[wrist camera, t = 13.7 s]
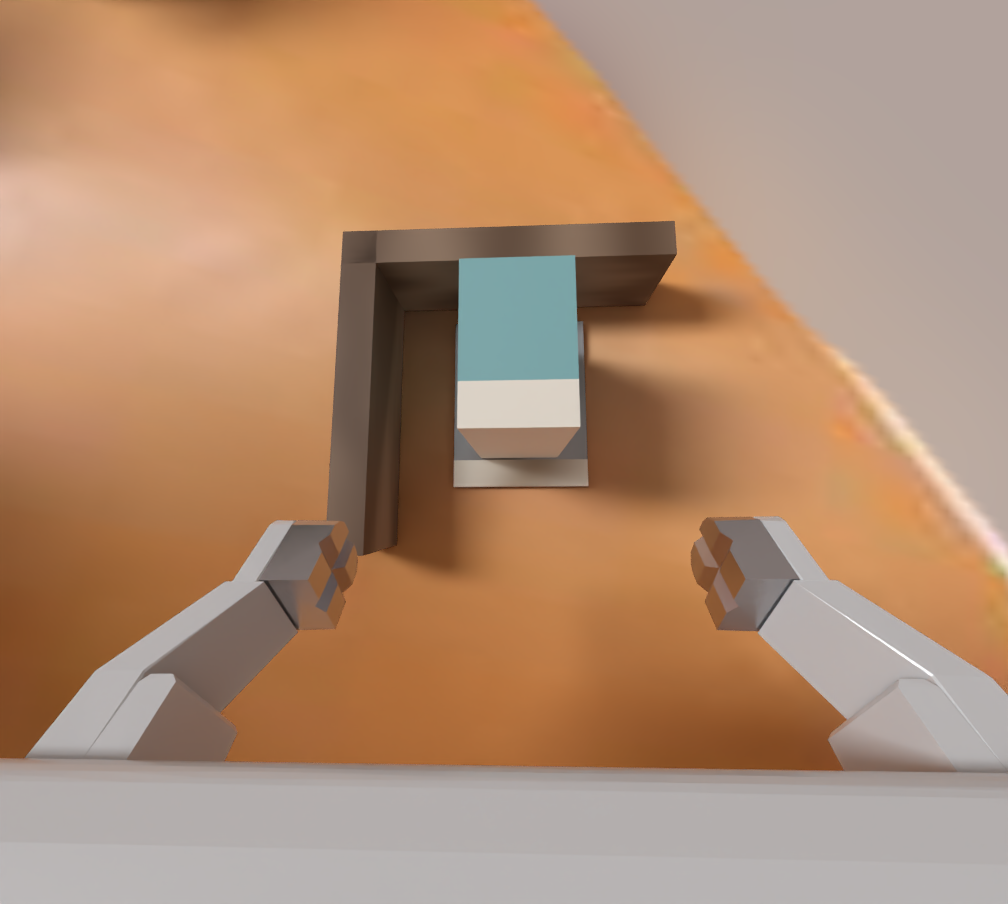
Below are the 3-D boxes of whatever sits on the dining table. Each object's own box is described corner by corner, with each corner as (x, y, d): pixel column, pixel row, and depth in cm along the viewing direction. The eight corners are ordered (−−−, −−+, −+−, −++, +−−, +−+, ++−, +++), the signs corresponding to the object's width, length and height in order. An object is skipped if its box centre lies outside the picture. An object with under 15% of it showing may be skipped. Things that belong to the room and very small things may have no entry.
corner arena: (366, 545, 21) (324, 555, 16) (377, 285, 23) (343, 231, 18) (658, 544, 20) (697, 555, 16) (643, 278, 22) (674, 221, 18)
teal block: (481, 458, 21) (457, 428, 13) (481, 349, 22) (459, 258, 14) (557, 457, 21) (580, 426, 13) (554, 348, 21) (575, 255, 14)
